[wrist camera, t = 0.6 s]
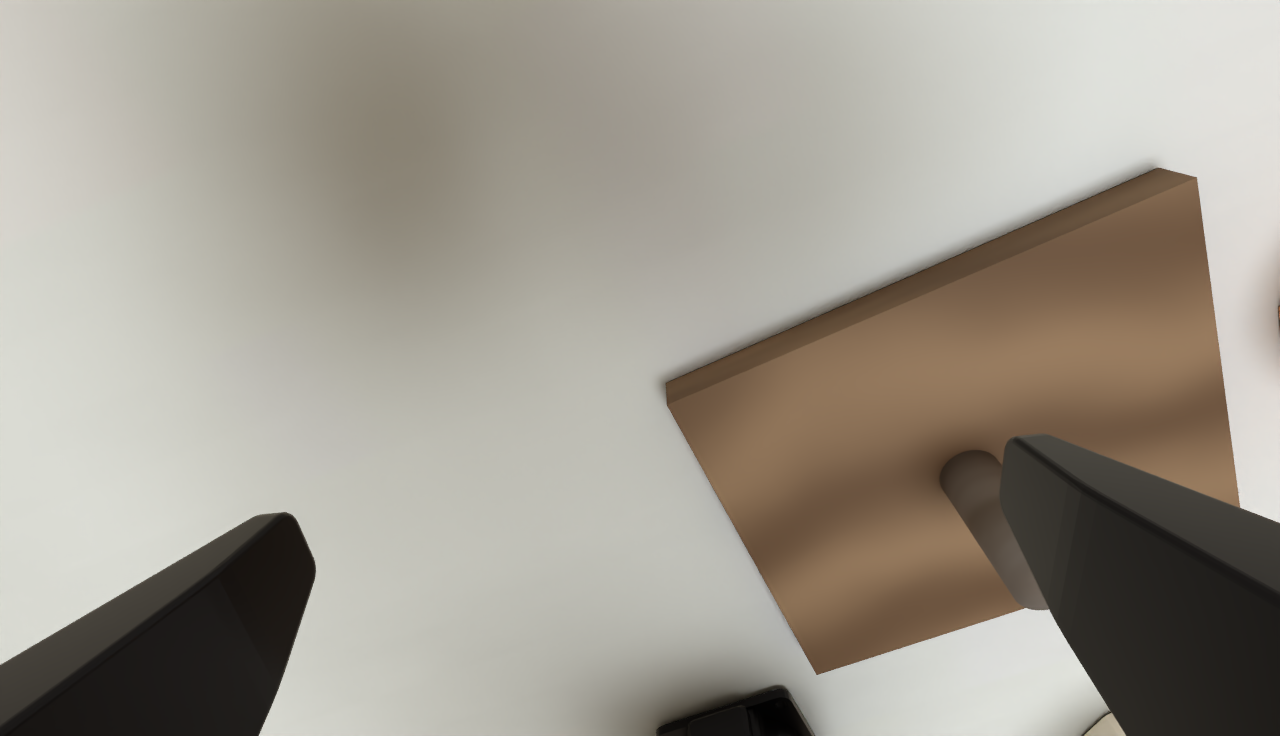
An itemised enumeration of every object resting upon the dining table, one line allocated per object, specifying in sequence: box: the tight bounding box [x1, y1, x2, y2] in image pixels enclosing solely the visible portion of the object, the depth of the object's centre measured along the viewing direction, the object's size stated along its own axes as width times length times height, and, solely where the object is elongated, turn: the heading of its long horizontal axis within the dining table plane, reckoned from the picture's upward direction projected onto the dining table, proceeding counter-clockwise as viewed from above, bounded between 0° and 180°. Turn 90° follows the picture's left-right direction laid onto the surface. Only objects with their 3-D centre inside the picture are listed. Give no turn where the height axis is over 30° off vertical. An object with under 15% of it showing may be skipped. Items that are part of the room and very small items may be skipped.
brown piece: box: [666, 168, 1240, 675], centre depth 21 cm, size 14×16×6 cm
